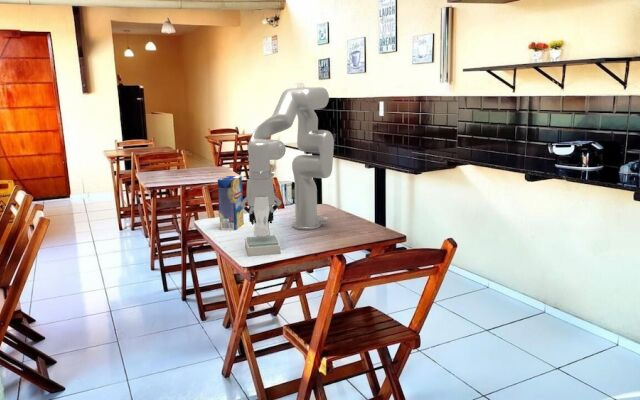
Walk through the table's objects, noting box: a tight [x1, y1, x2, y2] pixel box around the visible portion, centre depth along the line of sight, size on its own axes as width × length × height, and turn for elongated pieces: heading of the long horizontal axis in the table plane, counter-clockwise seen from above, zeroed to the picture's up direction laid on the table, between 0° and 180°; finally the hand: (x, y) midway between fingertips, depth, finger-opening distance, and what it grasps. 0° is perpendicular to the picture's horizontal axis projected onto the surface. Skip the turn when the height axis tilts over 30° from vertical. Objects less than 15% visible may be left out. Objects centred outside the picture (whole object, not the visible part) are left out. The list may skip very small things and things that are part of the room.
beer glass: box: [253, 196, 271, 237], centre depth 196 cm, size 7×7×15 cm
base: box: [244, 234, 282, 257], centre depth 198 cm, size 12×12×4 cm
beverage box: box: [217, 175, 245, 231], centre depth 231 cm, size 7×11×22 cm, turn 168°
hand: (261, 222), depth 196 cm, fingers closed on beer glass, 6 cm apart
